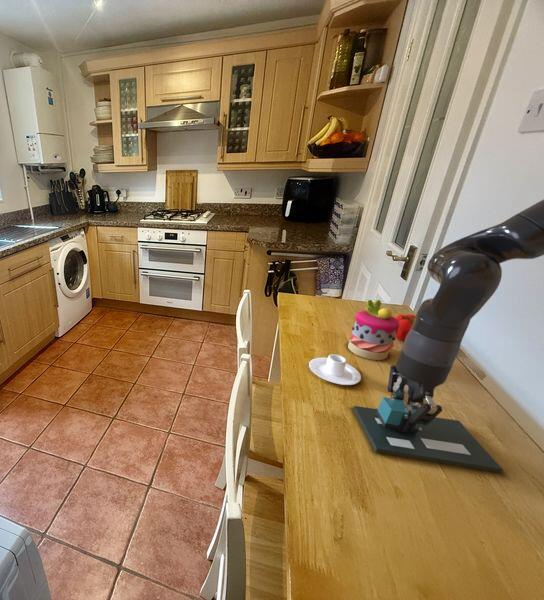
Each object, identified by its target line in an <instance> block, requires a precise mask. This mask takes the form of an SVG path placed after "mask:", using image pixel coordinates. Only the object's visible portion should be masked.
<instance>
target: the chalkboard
mask: <svg viewBox="0 0 544 600" xmlns="http://www.w3.org/2000/svg"><path fill="white" fill-rule="evenodd" d="M352 410H353V412H354V415H355V416H356V418H357V420H358V422H359V424H360V426H361V428H362V429H363V432H364V433H365V435H366V437H367V439H368V441H369V443H370V445H371V448H373V450H374V453H377V454H384V455H390V456H395V457H396V456H397V457H402V458H409V459H414V460H420V461H426V462H431V463H437V464H443V465H449V466H456V467H462V468H467V469H473V470H480V471H487V472H492V473H498V474H501V473H502V472H503V470H504V469H503V468H502V467H501V465H500V464H499V463H498V462H497V461H496V460H495V459H494V458H493V457H492V455H491V454H490V453H489V452H488V451H487V449H485V447H484V446H483V445H482V444H481V443H480V442H479V441H478V440H477V439H476V438H475V436H473V434H472V433H470V431H469V430H468V429H467V428H466V426H464V424H462V423H461V421H460V420H457V419H452V418H451V419H450V418H443V417H437V416H436V417H435V418H434V419H433V420H432V421H431V422H430V423H429V424H428V425H421V427H420V428H419V430H418V432H417V433H415V432H413V433H411V434H406V433H400V432H399V430H398V429H393V428H387V427H384V426H383V424H382V423H381V421H380V419H379V418H378V416H377V414H376V412H377V410H378V408H374V407H373V408H372V407H365V406H357V405H353V407H352Z"/></svg>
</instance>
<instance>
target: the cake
mask: <svg viewBox="0 0 544 600" xmlns="http://www.w3.org/2000/svg"><path fill="white" fill-rule="evenodd" d="M365 305H366V307H365V310H361V311H358V312H357V313H356V314H355V318H354V325H353V326H352V328H351V333H349V334H348V335H349V336H350V338H349V342H348V344H347V347H348V350H349V351H350V352H352V353H353V354H355V355H357V356H359V357H362V358H365V359H368V360H372V361H373V360H374V361H383V360H385V359H387V358H388V355H389V353H390V352H391V350H392V349H393V348H394V347H395V343H394V341H396V337H394V336H395V333H396V334H397V331H398V328H399V325H400V323H399V321H398V320H397V319H396V317H394V316H393V314H392V310H391V309H389V308H386V307H383V308H381V305H382V302H381V300H380V299H376V300H374V302H373V301H372V300H371V299H367V300H366V301H365Z"/></svg>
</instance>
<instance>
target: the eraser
mask: <svg viewBox="0 0 544 600" xmlns="http://www.w3.org/2000/svg"><path fill="white" fill-rule="evenodd" d="M410 403H414V404H417V403H415V402H411V401H410ZM377 409H378V410H377V412H376V414H377V416H378V418H379V419H380V421H381V423H382V424H383V426H384V427H387V428H393V429H398V427H399V424H400V422H401V419H402V417H403V416H404V410H405V406H404V405H403V400H397V399H391V398H390V397H384V396H383V397H382V398H381V400H380V403H379V405H378V408H377ZM415 411H416V410H415V409H412V410H411V413H412V414H413V413H414V412H415ZM420 427H421V424H416V426H415V428H414V430H413V432H415V433H417V432H418V430H419V428H420Z"/></svg>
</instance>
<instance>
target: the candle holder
mask: <svg viewBox="0 0 544 600" xmlns="http://www.w3.org/2000/svg"><path fill="white" fill-rule="evenodd" d="M347 361H348V360H347V359H346V358H345V357H344V356H342V355H340V354H336V353H335V354H329V355H328V356H327V357H315V358H313V359H311V360H310V361H309V363H308V366H309V369H310V370H311V372H312V373H313V374H315V376H318V377H319V378H320V379H322V380H325V381H327V382H330V383H333V384H337V385H341V386H353V385H356V384H359V383H360V382H361V380H362V376H361V373H360V372H359V370H357V369H356V368H355V367H354V366H352V365H351V364H349V363H347Z"/></svg>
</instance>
